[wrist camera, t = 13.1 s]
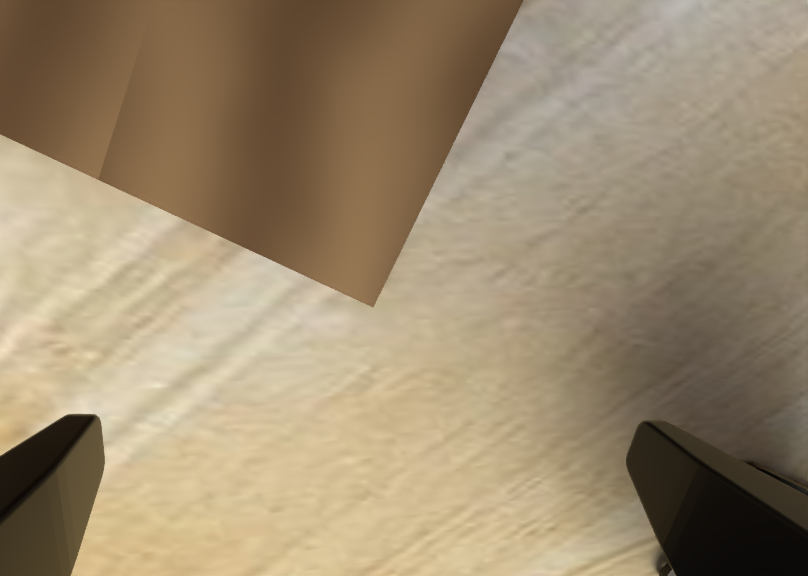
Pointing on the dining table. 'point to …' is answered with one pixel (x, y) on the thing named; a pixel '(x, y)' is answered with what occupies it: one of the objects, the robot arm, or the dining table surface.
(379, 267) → the walnut board
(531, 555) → the dining table surface
